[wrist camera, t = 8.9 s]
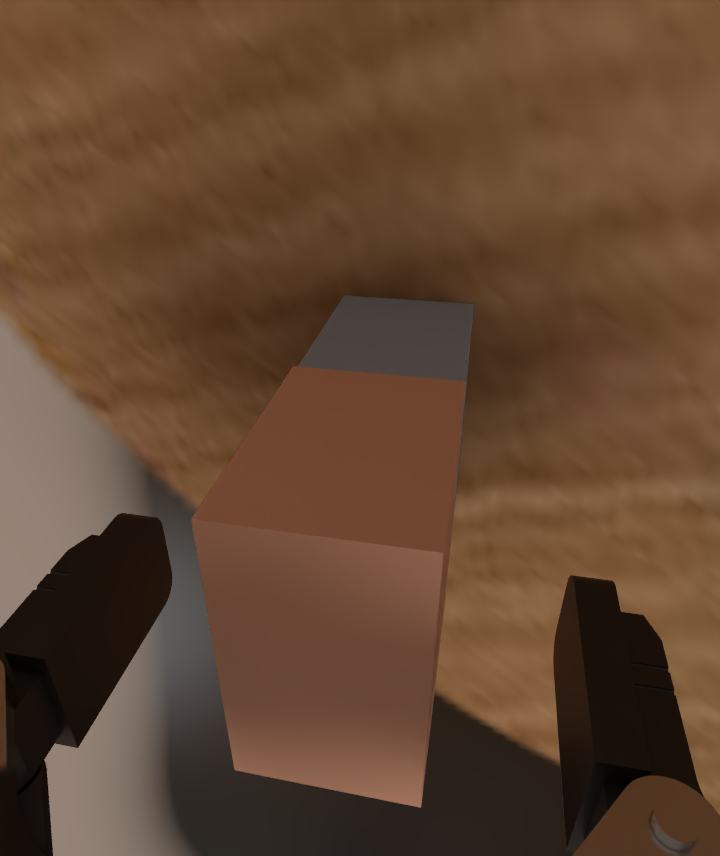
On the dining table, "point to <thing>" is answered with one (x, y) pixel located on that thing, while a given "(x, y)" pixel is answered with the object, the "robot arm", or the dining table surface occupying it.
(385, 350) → the slate brick
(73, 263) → the dining table surface
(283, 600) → the terracotta brick
